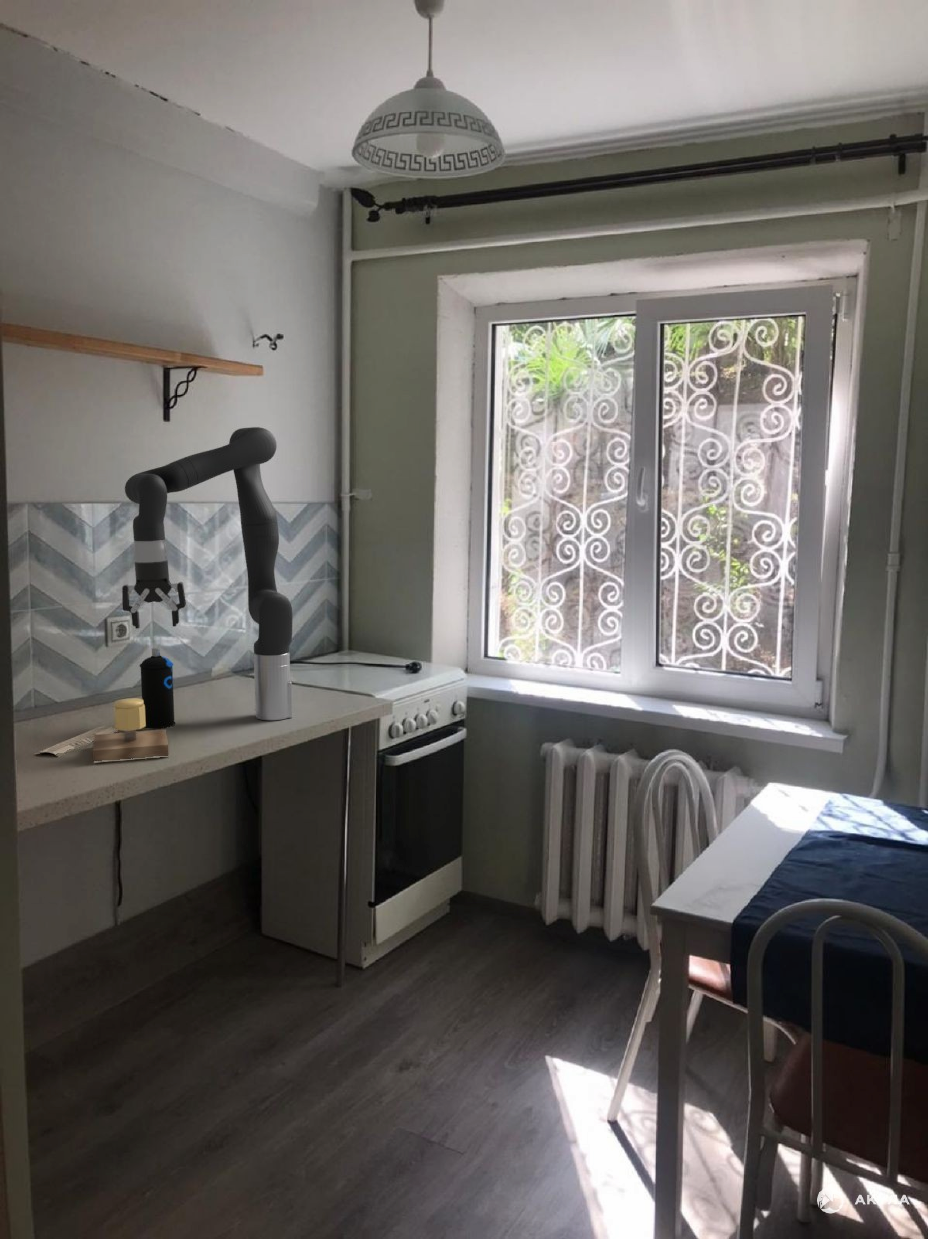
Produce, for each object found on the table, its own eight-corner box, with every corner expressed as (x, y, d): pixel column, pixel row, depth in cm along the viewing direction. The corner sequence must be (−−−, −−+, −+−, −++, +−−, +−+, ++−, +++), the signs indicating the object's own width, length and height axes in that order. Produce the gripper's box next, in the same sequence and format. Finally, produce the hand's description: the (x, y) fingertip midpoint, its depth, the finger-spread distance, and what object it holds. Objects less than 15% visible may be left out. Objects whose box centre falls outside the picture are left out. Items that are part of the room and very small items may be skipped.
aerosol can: (141, 730, 249) (137, 651, 246) (142, 722, 257) (139, 645, 254) (175, 728, 251) (172, 650, 249) (175, 720, 259) (172, 644, 256)
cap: (148, 727, 228) (147, 702, 227) (119, 731, 224) (118, 705, 223) (139, 722, 233) (138, 697, 232) (112, 725, 230) (110, 700, 229)
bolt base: (165, 741, 239) (164, 696, 237) (168, 757, 226) (166, 710, 224) (94, 747, 234) (92, 701, 232) (93, 763, 220) (90, 715, 219)
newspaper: (96, 732, 250) (96, 725, 249) (121, 734, 248) (121, 727, 248) (35, 758, 227) (34, 750, 227) (62, 760, 225) (61, 753, 225)
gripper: (183, 556, 240) (188, 623, 242) (122, 559, 237) (127, 626, 240) (180, 559, 232) (185, 628, 235) (117, 562, 230) (122, 631, 233)
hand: (156, 627), depth 237 cm, fingers open, 8 cm apart
